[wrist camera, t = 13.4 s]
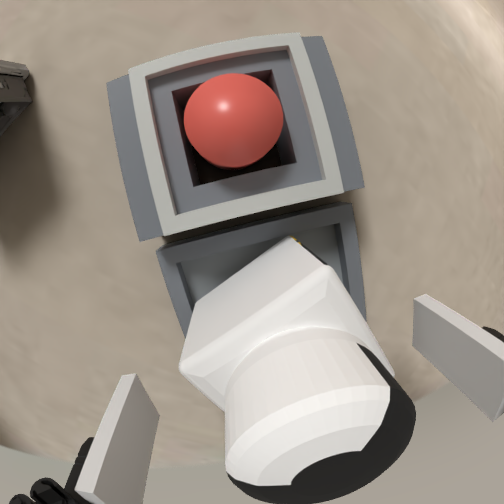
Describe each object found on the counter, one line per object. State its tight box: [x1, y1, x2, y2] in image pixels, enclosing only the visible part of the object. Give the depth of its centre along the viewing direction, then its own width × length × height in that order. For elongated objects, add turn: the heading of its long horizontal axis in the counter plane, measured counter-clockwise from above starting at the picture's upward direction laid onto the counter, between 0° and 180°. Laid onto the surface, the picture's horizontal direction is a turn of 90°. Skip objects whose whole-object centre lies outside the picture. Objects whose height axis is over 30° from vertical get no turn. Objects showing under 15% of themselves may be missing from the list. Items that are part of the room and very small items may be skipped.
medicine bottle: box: [179, 236, 416, 504], centre depth 12 cm, size 7×7×12 cm
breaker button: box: [184, 73, 283, 170], centre depth 13 cm, size 4×4×4 cm
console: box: [107, 32, 366, 339], centre depth 16 cm, size 12×21×5 cm, turn 13°
